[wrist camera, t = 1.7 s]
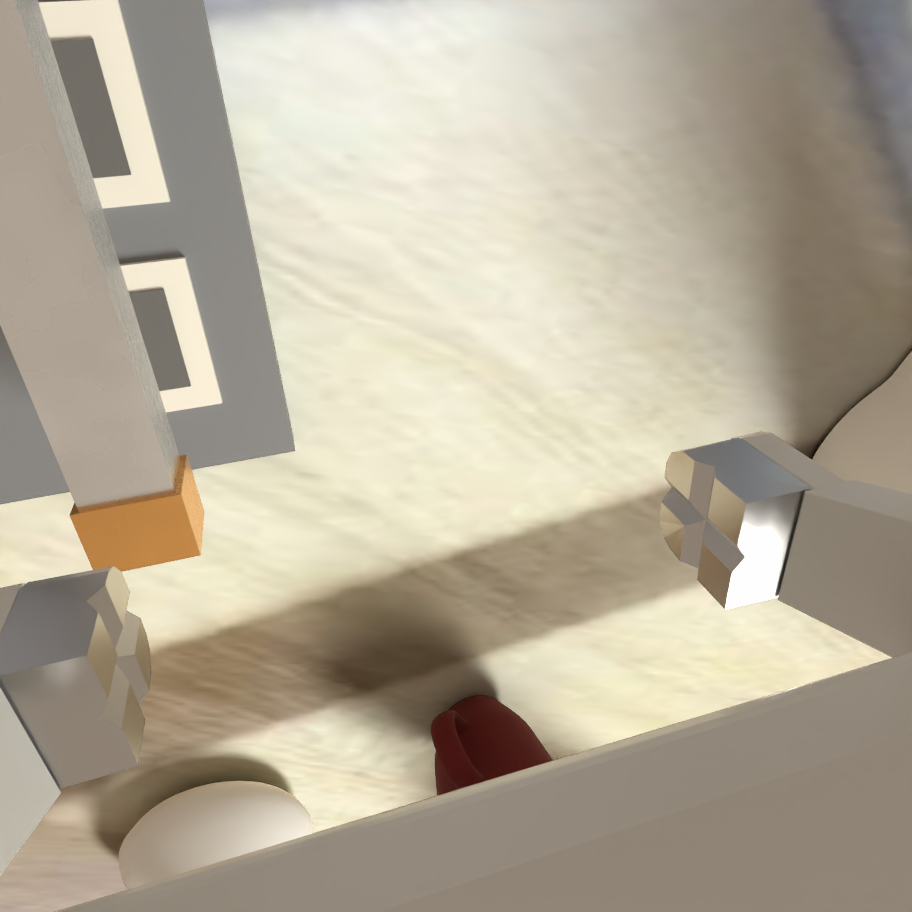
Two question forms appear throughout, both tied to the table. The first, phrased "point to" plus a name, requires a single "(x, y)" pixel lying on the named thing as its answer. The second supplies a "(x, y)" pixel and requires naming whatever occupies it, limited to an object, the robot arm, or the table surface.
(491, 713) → the mug
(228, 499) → the table surface
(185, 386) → the label panel
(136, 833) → the flower in vase
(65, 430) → the swing bar
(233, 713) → the table surface
